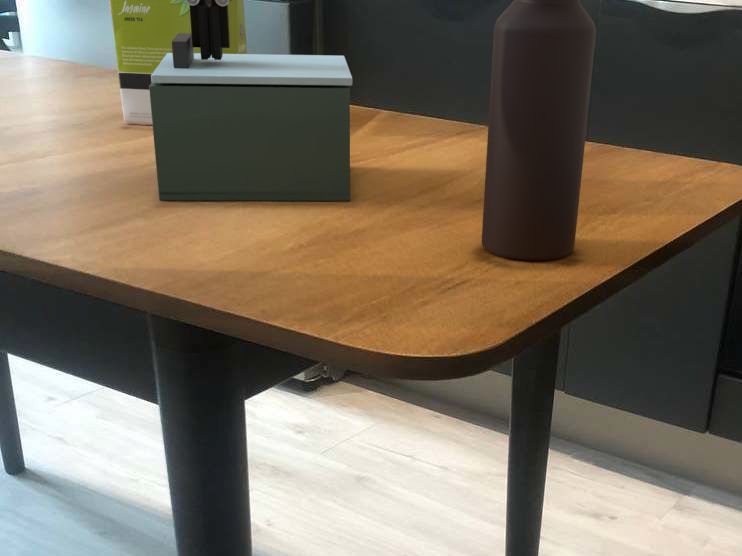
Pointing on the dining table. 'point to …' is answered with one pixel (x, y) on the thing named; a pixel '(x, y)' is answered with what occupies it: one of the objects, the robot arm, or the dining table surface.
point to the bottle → (537, 128)
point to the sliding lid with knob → (249, 68)
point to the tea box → (156, 45)
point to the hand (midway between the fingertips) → (212, 57)
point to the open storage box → (251, 142)
